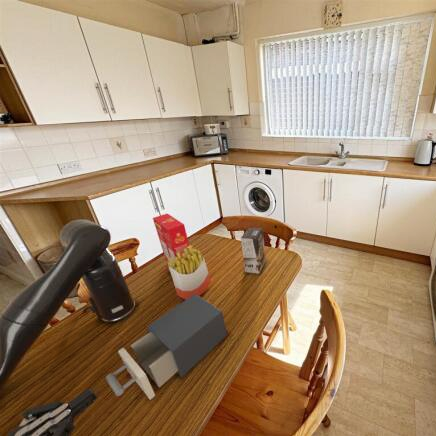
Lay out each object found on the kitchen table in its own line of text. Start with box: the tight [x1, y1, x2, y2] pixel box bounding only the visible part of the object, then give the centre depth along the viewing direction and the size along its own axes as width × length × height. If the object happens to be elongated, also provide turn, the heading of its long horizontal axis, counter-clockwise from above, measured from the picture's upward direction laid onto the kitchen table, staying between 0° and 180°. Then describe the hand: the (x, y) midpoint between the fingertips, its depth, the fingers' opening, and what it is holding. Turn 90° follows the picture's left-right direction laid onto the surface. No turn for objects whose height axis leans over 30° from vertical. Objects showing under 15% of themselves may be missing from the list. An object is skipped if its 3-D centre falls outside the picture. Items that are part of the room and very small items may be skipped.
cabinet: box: [146, 294, 228, 378], centre depth 66 cm, size 15×13×10 cm
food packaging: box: [152, 213, 190, 274], centre depth 90 cm, size 15×5×25 cm, turn 47°
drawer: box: [105, 332, 178, 401], centre depth 59 cm, size 18×11×8 cm, turn 144°
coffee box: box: [240, 227, 267, 275], centre depth 97 cm, size 9×6×16 cm
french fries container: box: [168, 244, 211, 301], centre depth 83 cm, size 5×11×18 cm, turn 148°
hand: (94, 392), depth 49 cm, fingers closed
